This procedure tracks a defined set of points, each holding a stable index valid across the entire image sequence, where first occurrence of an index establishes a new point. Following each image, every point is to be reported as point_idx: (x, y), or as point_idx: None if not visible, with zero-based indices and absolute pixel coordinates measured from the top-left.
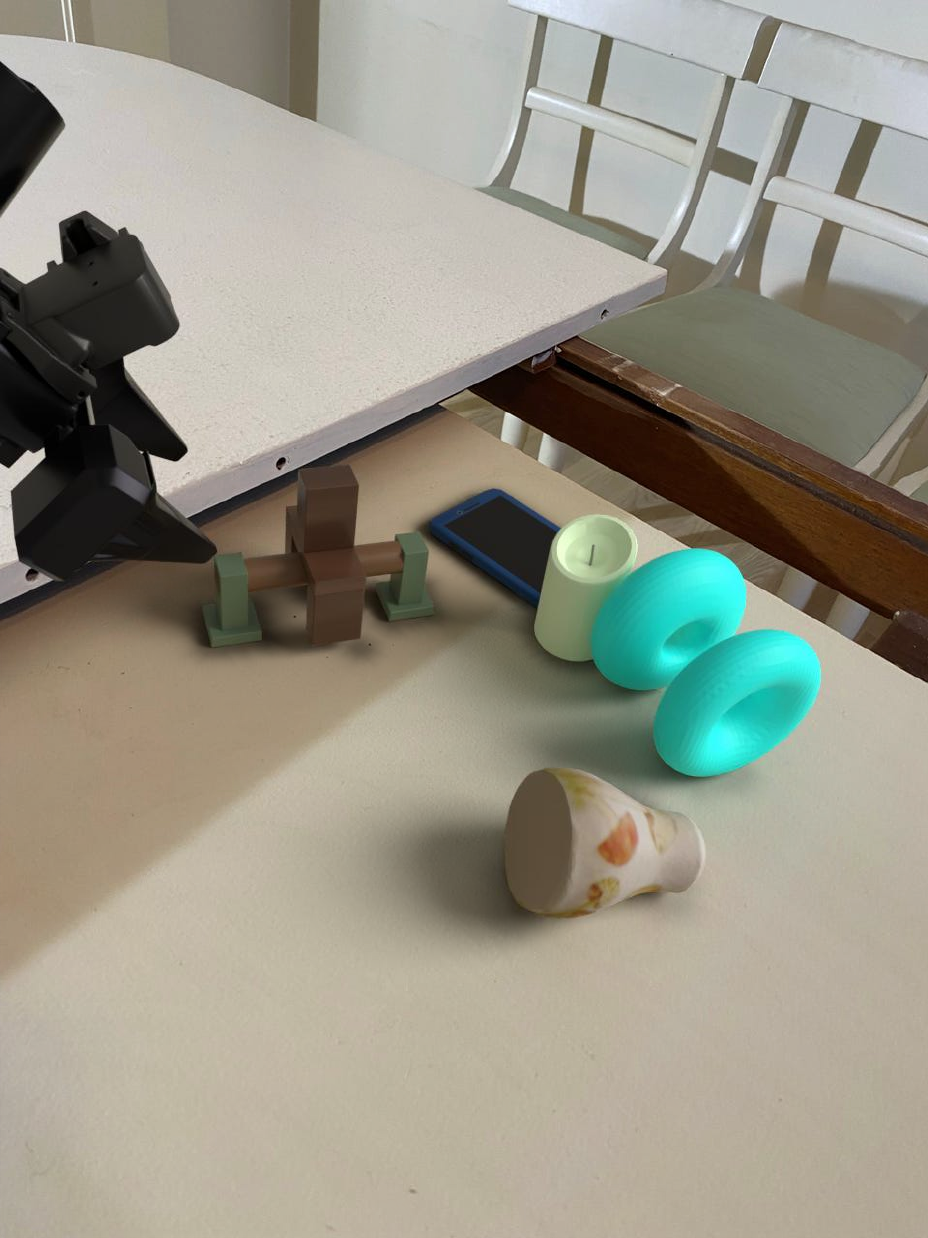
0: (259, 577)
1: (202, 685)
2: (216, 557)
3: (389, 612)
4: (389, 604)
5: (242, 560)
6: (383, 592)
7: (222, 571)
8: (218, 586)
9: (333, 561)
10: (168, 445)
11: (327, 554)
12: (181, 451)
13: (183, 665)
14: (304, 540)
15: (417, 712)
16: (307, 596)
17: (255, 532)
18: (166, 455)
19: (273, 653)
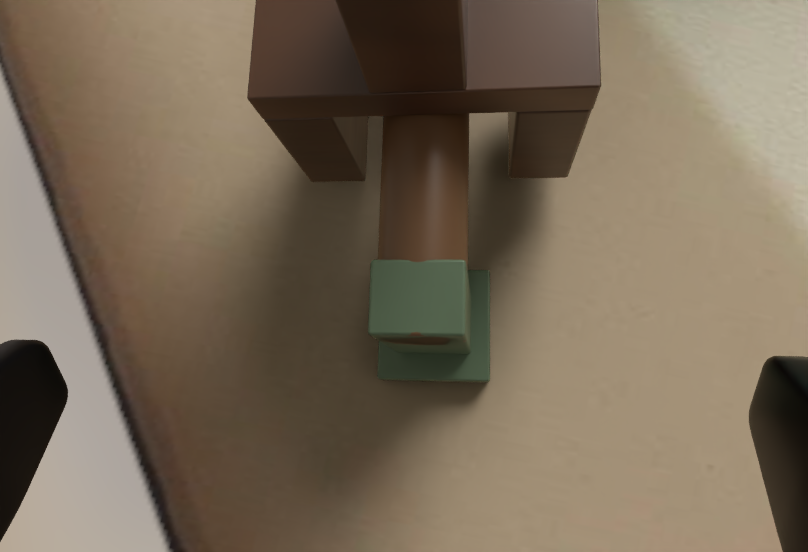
0: (461, 234)
1: (597, 424)
2: (379, 329)
3: None
4: None
5: (408, 263)
6: None
7: (442, 325)
8: (440, 342)
9: (517, 22)
10: (2, 424)
11: (483, 32)
12: (39, 369)
13: (528, 451)
14: (462, 66)
15: (753, 30)
16: (520, 138)
17: (152, 219)
18: (38, 434)
19: (531, 261)
